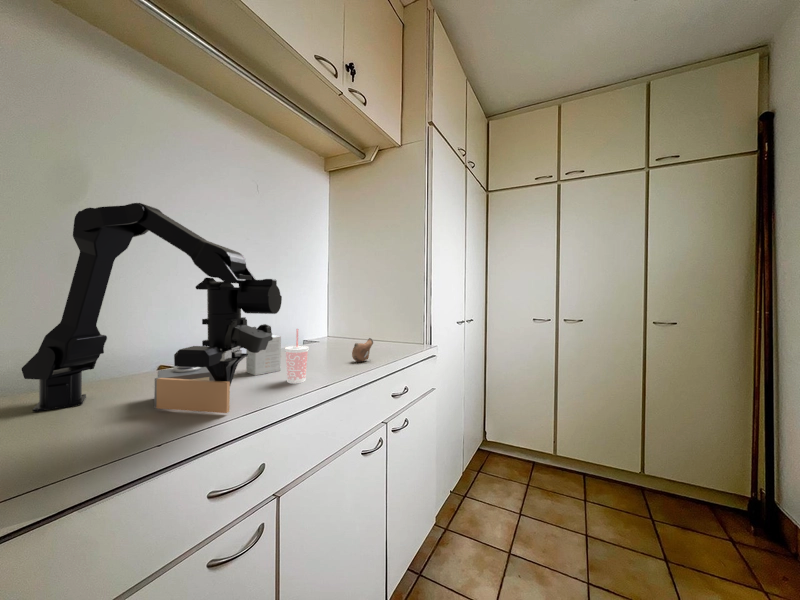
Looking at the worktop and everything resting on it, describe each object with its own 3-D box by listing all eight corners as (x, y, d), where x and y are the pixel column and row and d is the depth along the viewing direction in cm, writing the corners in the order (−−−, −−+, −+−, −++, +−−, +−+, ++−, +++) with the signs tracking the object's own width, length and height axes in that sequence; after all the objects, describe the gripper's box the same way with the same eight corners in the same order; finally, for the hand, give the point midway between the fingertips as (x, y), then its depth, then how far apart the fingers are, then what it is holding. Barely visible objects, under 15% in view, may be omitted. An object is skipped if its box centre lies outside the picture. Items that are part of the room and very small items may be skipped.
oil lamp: (369, 358, 112) (370, 337, 112) (376, 360, 109) (377, 338, 109) (349, 362, 106) (350, 339, 105) (356, 364, 103) (357, 340, 103)
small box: (271, 367, 95) (272, 334, 95) (281, 370, 92) (281, 336, 92) (245, 372, 89) (246, 336, 89) (254, 376, 86) (255, 338, 85)
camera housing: (157, 397, 67) (157, 367, 66) (210, 389, 73) (211, 361, 73) (159, 408, 60) (159, 375, 60) (217, 398, 67) (217, 368, 67)
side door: (157, 406, 60) (157, 377, 60) (229, 411, 59) (230, 381, 59) (153, 408, 59) (153, 378, 59) (226, 413, 58) (226, 382, 58)
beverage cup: (279, 382, 80) (280, 329, 80) (294, 376, 86) (295, 327, 85) (298, 385, 78) (299, 330, 77) (313, 379, 83) (314, 328, 83)
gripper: (235, 318, 50) (235, 412, 50) (285, 310, 69) (285, 379, 69) (170, 317, 51) (172, 409, 51) (237, 309, 69) (238, 377, 70)
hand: (225, 391), depth 60 cm, fingers closed
